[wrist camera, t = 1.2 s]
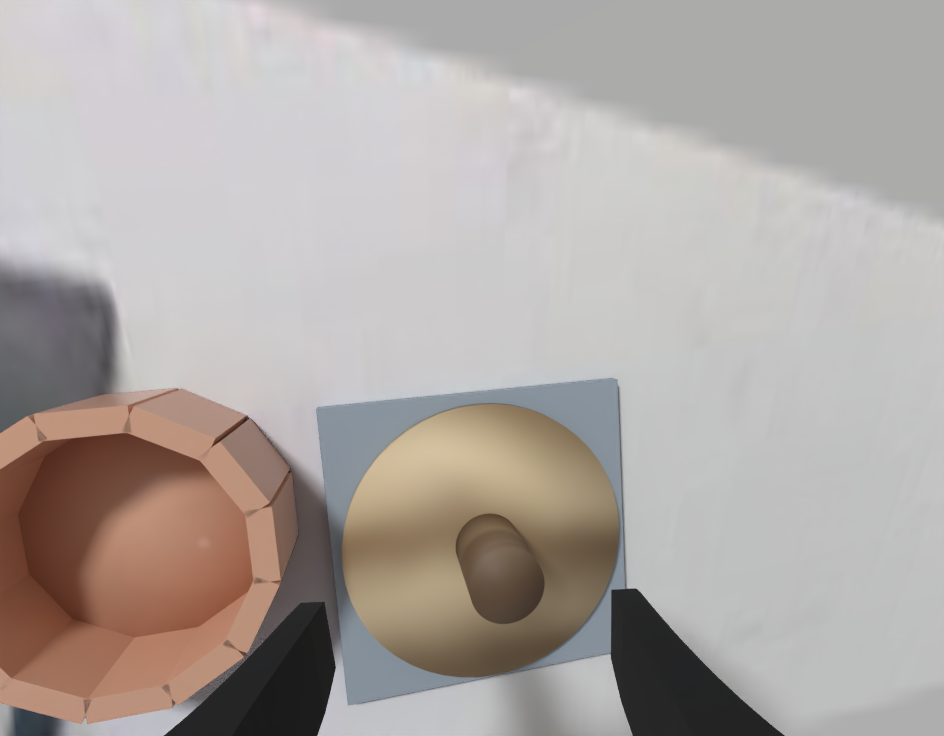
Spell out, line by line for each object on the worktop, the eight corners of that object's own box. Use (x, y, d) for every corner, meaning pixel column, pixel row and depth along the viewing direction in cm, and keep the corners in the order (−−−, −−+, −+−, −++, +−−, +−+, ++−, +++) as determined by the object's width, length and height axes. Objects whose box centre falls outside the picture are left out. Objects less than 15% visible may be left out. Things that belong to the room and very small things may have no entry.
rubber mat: (622, 642, 28) (627, 649, 27) (348, 696, 25) (347, 705, 25) (612, 378, 26) (617, 379, 26) (317, 407, 24) (316, 409, 23)
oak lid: (618, 641, 27) (665, 706, 23) (357, 693, 25) (352, 777, 20) (608, 389, 26) (657, 405, 21) (328, 419, 23) (316, 443, 19)
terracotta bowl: (308, 619, 25) (293, 684, 20) (33, 665, 23) (-51, 750, 18) (281, 378, 23) (258, 393, 19) (-15, 404, 21) (-118, 427, 17)
